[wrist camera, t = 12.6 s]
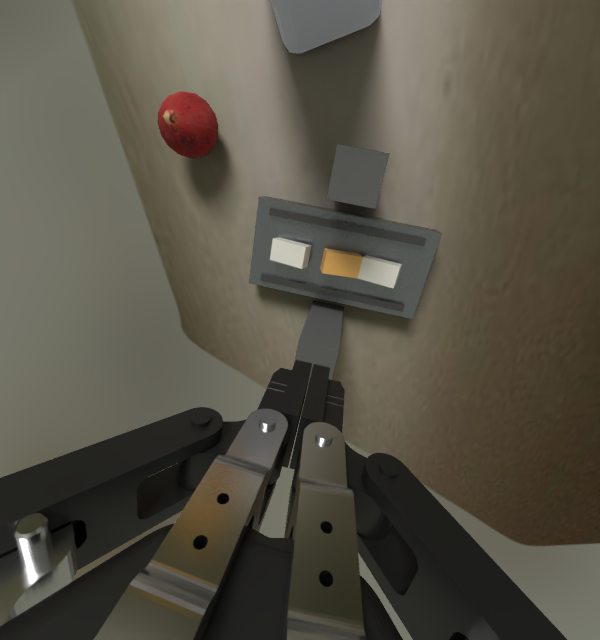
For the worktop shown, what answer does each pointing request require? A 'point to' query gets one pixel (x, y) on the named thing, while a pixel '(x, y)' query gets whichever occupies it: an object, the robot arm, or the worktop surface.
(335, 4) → the soap bottle
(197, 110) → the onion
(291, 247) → the paddle
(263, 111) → the worktop surface
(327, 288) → the breaker panel
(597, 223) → the worktop surface
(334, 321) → the cord post
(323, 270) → the orange block
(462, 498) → the worktop surface
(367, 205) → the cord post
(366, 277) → the paddle
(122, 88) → the worktop surface
